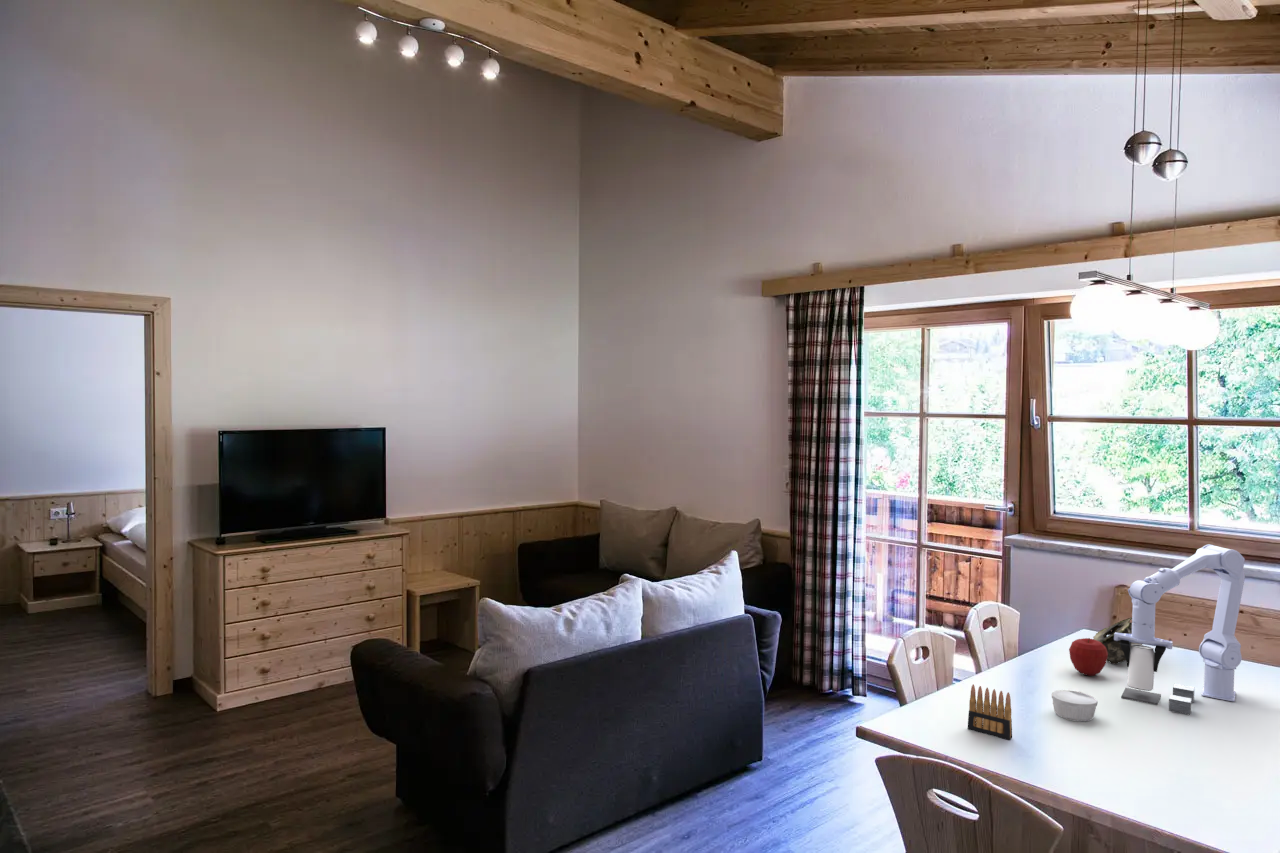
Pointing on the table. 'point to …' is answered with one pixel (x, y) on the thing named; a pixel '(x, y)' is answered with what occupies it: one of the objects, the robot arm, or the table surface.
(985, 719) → the ammunition clip
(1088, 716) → the ramekin
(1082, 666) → the apple
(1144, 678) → the can
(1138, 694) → the mat
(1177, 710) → the block
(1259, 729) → the table surface
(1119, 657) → the hollow geode rock
